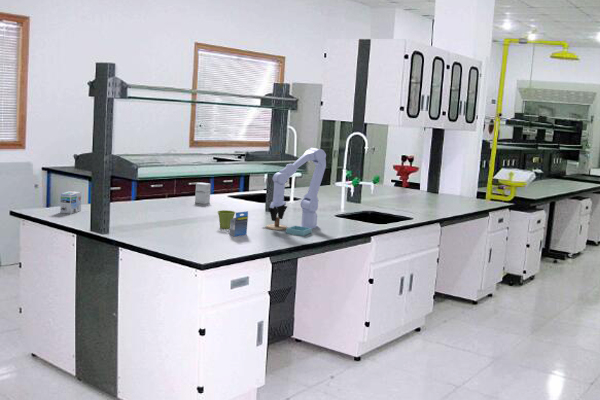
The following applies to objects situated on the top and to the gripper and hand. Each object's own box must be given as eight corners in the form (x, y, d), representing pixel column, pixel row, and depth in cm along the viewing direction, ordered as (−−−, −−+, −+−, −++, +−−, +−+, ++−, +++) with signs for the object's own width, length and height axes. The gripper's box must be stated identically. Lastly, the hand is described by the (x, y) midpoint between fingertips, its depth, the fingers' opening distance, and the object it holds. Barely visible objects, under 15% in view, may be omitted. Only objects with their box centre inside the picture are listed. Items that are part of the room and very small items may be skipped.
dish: (294, 230, 349) (295, 225, 349) (311, 233, 345) (311, 228, 345) (286, 233, 340) (286, 228, 340) (303, 236, 336) (303, 231, 336)
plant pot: (222, 230, 338) (223, 214, 337) (213, 226, 346) (214, 210, 344) (237, 229, 344) (238, 213, 342) (228, 225, 351) (229, 209, 350)
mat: (272, 225, 360) (272, 224, 360) (291, 228, 355) (291, 228, 355) (261, 228, 349) (261, 228, 349) (281, 232, 344) (281, 231, 344)
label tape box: (241, 233, 335) (242, 209, 333) (247, 234, 332) (248, 211, 330) (229, 235, 328) (230, 211, 326) (234, 236, 325) (236, 212, 323)
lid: (272, 225, 359) (273, 214, 358) (290, 228, 354) (291, 217, 353) (262, 228, 349) (263, 217, 348) (280, 231, 345) (281, 220, 344)
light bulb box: (71, 214, 353) (71, 194, 352) (59, 212, 354) (60, 193, 353) (81, 210, 364) (81, 191, 362) (70, 209, 365) (70, 190, 363)
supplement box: (194, 202, 414) (195, 183, 412) (199, 201, 421) (200, 182, 419) (205, 204, 412) (206, 184, 410) (210, 202, 419) (211, 183, 417)
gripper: (278, 192, 357) (276, 216, 359) (265, 195, 344) (263, 220, 346) (289, 194, 354) (288, 218, 356) (277, 197, 341) (275, 222, 343)
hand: (277, 219), depth 351 cm, fingers open, 7 cm apart
